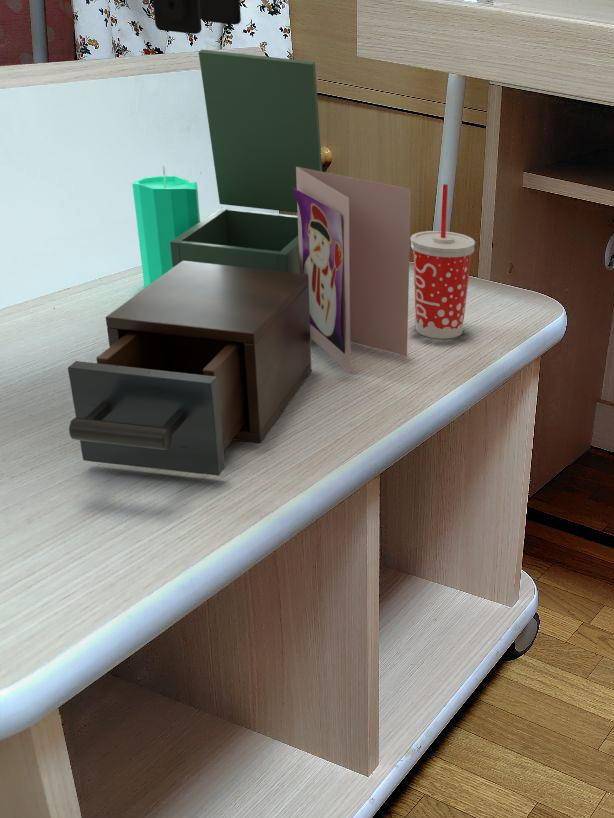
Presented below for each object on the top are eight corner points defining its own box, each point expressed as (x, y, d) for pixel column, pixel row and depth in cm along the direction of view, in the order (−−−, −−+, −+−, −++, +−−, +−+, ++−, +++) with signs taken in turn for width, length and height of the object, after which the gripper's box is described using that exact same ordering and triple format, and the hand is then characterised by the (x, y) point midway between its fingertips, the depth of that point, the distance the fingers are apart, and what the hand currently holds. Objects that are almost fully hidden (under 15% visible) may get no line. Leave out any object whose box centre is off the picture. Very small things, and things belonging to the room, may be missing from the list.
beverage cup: (399, 322, 99) (401, 177, 92) (454, 317, 102) (461, 176, 94) (422, 344, 94) (427, 193, 87) (480, 338, 97) (489, 191, 90)
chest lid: (312, 64, 90) (315, 61, 91) (198, 51, 90) (201, 49, 91) (323, 215, 100) (325, 212, 100) (219, 204, 100) (222, 201, 100)
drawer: (196, 506, 64) (187, 409, 60) (53, 489, 64) (34, 392, 60) (276, 398, 79) (272, 316, 75) (160, 385, 79) (150, 302, 75)
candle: (171, 300, 98) (158, 175, 92) (131, 286, 101) (116, 163, 94) (218, 288, 103) (209, 168, 96) (179, 274, 105) (167, 156, 99)
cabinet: (260, 443, 74) (253, 333, 70) (120, 427, 74) (105, 317, 70) (311, 371, 86) (308, 274, 82) (191, 357, 87) (182, 260, 82)
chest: (289, 337, 93) (286, 254, 89) (178, 325, 93) (169, 241, 89) (325, 293, 104) (324, 218, 100) (226, 282, 104) (221, 207, 100)
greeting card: (292, 331, 94) (286, 166, 86) (364, 322, 98) (364, 164, 90) (341, 374, 86) (338, 198, 79) (417, 364, 90) (422, 194, 82)
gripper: (170, -240, 75) (190, 14, 84) (69, -285, 60) (106, 30, 69) (269, -228, 75) (278, 24, 84) (193, -270, 60) (214, 41, 69)
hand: (200, 26), depth 76 cm, fingers open, 9 cm apart
